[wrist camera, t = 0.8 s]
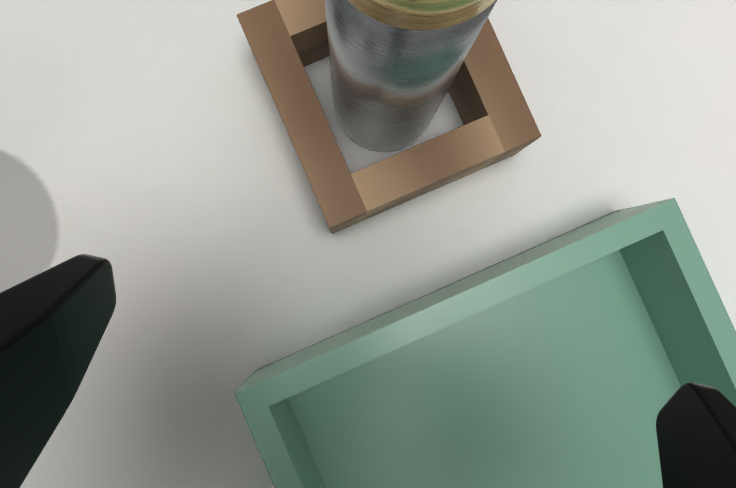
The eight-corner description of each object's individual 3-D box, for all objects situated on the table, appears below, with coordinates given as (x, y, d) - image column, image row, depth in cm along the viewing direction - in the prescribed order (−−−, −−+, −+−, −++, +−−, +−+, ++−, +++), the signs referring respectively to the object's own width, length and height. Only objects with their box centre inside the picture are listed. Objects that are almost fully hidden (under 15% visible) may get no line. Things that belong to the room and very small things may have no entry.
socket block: (331, 233, 22) (329, 227, 19) (252, 49, 22) (236, 14, 19) (515, 154, 22) (541, 136, 19) (434, -26, 22) (448, -72, 19)
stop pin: (357, 169, 22) (369, 20, 9) (316, 75, 22) (268, -209, 9) (451, 129, 22) (598, -74, 9) (410, 36, 22) (496, -297, 9)
